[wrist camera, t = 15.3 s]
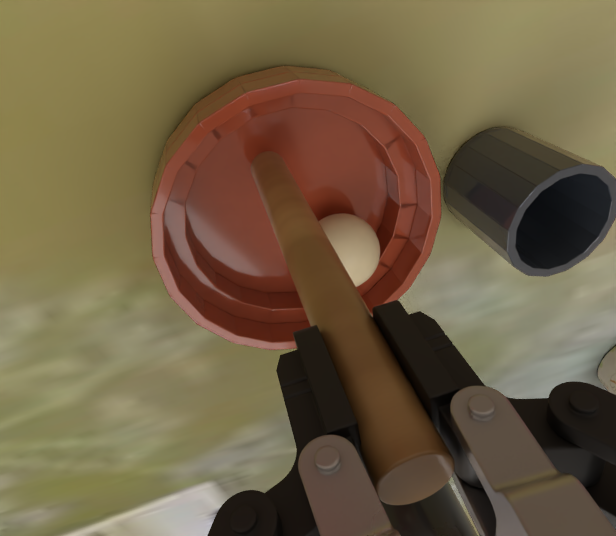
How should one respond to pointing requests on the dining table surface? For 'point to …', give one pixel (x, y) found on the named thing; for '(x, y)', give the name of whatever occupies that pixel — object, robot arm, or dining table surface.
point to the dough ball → (353, 244)
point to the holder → (530, 199)
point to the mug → (608, 371)
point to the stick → (355, 348)
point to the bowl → (312, 182)
